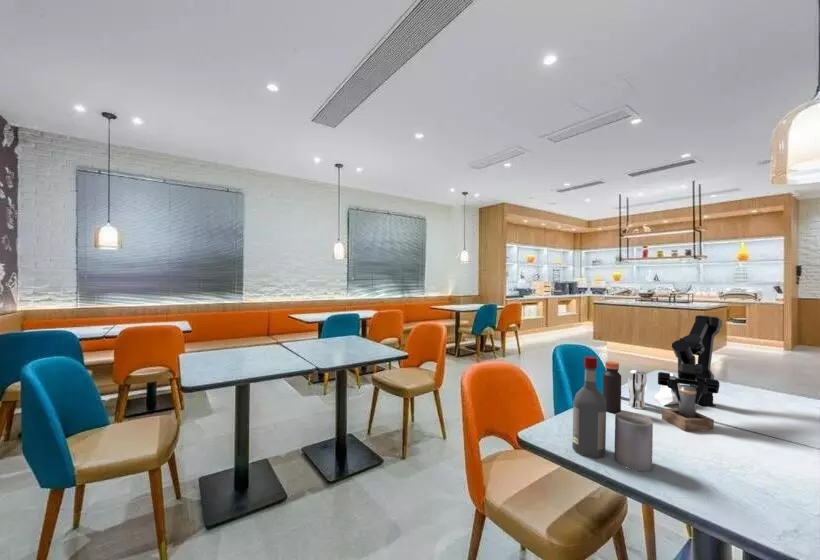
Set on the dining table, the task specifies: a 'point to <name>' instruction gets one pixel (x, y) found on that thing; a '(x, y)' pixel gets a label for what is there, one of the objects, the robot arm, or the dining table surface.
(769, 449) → the dining table surface
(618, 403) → the bottle
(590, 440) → the liquor
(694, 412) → the charcoal peg
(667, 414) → the walnut socket block
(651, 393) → the dining table surface
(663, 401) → the soft serve ice cream
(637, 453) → the pillar candle
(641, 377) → the beer glass
